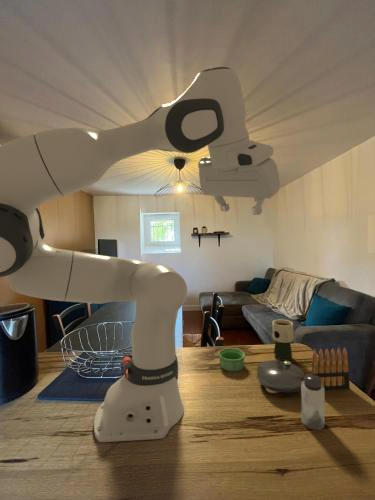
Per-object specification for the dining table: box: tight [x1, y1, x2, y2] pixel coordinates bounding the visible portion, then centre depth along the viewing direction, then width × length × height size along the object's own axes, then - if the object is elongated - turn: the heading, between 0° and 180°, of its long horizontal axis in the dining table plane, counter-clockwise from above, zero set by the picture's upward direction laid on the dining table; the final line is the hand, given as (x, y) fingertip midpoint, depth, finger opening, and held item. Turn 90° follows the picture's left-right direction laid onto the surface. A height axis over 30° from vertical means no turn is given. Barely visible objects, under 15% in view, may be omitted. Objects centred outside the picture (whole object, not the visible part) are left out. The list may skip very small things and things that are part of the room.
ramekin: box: [218, 347, 246, 372], centre depth 89 cm, size 9×9×4 cm
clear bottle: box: [300, 373, 325, 431], centre depth 61 cm, size 5×5×11 cm
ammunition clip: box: [310, 347, 350, 392], centre depth 74 cm, size 11×2×12 cm, turn 92°
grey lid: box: [256, 359, 305, 396], centre depth 76 cm, size 13×13×5 cm
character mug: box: [271, 318, 294, 361], centre depth 93 cm, size 11×7×13 cm, turn 2°
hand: (240, 212), depth 63 cm, fingers open, 8 cm apart
